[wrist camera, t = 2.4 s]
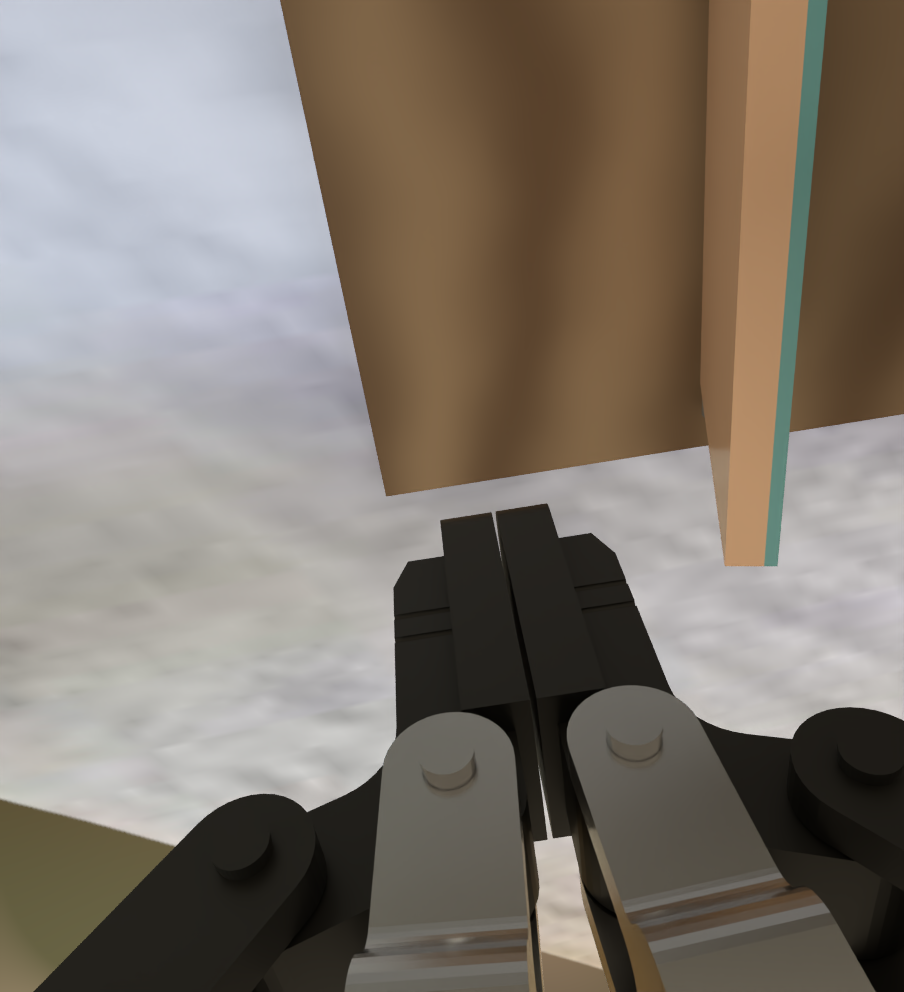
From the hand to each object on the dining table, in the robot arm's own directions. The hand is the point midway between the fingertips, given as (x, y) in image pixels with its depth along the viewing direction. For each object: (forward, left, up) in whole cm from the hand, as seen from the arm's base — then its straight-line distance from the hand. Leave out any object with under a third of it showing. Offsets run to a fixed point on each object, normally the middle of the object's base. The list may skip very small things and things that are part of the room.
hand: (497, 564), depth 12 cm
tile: (+7, 0, -11) cm, 13 cm away
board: (+9, 0, -18) cm, 20 cm away
